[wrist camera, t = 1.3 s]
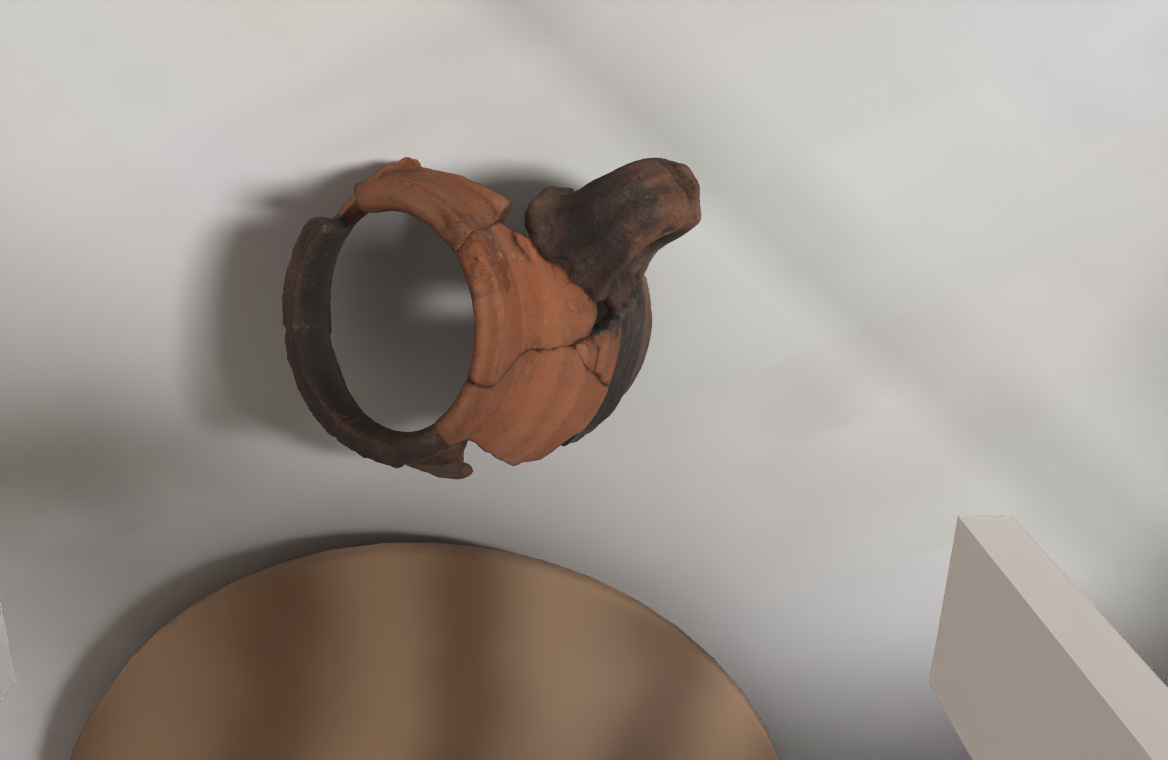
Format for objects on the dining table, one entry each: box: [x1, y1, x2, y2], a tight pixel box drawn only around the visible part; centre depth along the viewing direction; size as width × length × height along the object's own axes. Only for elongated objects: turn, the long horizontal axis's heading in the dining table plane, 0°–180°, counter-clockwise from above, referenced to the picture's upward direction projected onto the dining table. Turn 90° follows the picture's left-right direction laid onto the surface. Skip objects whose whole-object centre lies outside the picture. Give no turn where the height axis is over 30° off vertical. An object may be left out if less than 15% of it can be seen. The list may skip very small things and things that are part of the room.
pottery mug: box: [282, 157, 701, 479], centre depth 28 cm, size 12×10×8 cm
